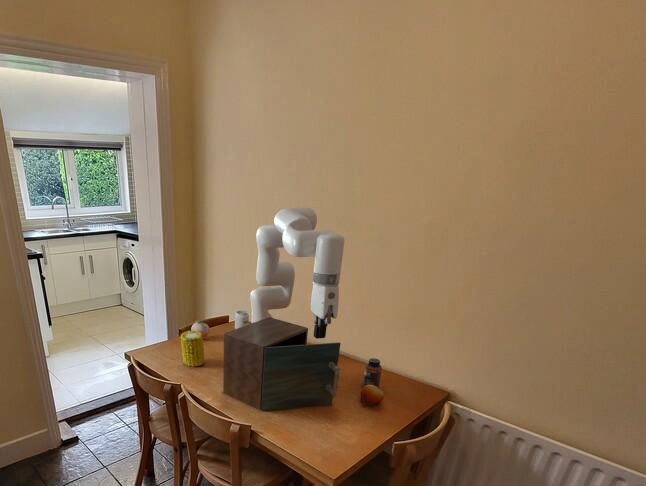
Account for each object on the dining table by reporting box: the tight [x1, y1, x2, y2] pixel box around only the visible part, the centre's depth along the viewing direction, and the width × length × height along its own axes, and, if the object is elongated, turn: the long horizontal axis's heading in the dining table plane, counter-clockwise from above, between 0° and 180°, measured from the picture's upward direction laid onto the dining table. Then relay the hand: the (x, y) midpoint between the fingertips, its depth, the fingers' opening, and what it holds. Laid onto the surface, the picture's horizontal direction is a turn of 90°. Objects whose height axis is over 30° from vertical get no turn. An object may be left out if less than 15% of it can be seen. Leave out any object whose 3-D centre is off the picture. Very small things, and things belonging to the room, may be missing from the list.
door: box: [260, 342, 341, 412], centre depth 138 cm, size 6×26×24 cm, turn 99°
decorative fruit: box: [190, 319, 211, 339], centre depth 204 cm, size 9×8×10 cm
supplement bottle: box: [362, 357, 383, 388], centre depth 157 cm, size 6×6×11 cm
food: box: [180, 329, 206, 367], centre depth 177 cm, size 15×12×10 cm
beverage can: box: [234, 310, 250, 330], centre depth 210 cm, size 7×7×12 cm
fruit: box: [359, 385, 385, 407], centre depth 147 cm, size 8×8×8 cm
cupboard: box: [222, 317, 309, 411], centre depth 153 cm, size 18×26×24 cm
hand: (319, 337), depth 127 cm, fingers closed
